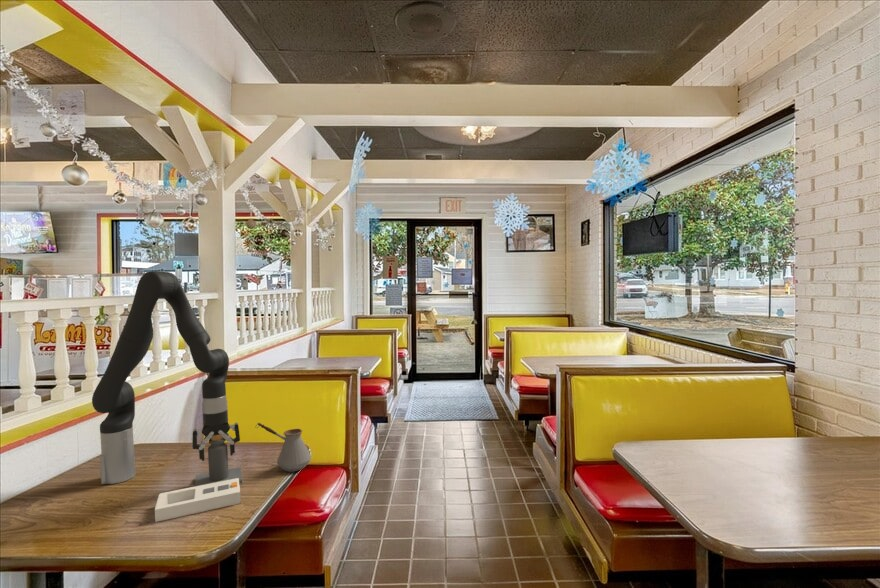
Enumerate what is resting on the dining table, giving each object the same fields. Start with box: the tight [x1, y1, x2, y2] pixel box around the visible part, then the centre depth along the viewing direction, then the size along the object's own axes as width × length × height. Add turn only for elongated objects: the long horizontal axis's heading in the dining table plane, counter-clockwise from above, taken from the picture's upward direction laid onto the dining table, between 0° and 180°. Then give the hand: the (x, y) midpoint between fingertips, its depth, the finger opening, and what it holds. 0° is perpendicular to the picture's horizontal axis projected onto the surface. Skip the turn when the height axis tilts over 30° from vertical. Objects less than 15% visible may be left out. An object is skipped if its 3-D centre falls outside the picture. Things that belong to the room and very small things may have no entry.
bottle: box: [207, 434, 229, 481], centre depth 155 cm, size 6×6×15 cm
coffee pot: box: [255, 422, 312, 473], centre depth 166 cm, size 21×12×15 cm, turn 71°
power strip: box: [154, 478, 242, 523], centre depth 139 cm, size 22×11×4 cm, turn 116°
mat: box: [193, 466, 243, 487], centre depth 155 cm, size 14×12×1 cm
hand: (217, 457), depth 154 cm, fingers open, 8 cm apart
